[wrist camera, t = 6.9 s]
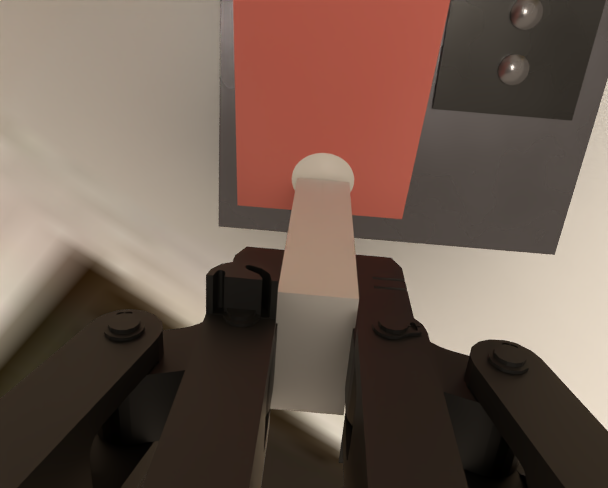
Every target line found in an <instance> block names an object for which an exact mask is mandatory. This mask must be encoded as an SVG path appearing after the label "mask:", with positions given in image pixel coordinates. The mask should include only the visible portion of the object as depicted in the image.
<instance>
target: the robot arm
mask: <svg viewBox="0 0 608 488" xmlns="http://www.w3.org/2000/svg"><path fill="white" fill-rule="evenodd" d="M344 407H345V409H346V413H345V420H344V427H343V435H342V442H341V449H340V457H339V463H343V474H344V488H608V431H607V430H606V429H605V428H604V427H603V426H602V424H601V423H600V422H599V421H598V420H597V419H596V418H595V417H594V416H593V415H592V414H591V412H590V411H589V410H588V409H587V408H586V407H585V406H584V405H583V404H582V403H581V402H580V400H579V399H578V398H577V397H576V396H575V395H574V394H573V393H572V392H571V391H570V390H569V388H568V387H567V386H566V385H565V384H564V383H563V382H562V381H561V380H560V379H559V378H558V376H557V375H556V374H555V373H554V372H553V371H552V370H551V369H550V368H549V367H548V366H547V364H546V363H545V362H544V361H543V360H542V359H541V358H540V357H538V356H537V355H536V354H535V353H533V352H532V351H531V350H529V349H527V348H525V347H523V346H521V345H519V344H516V343H513V342H510V341H505V340H485V341H480V342H478V343H477V344H475V345H474V346H472V348H471V352H470V356H467V355H464V354H460V353H457V352H453V351H450V350H447V349H444V348H442V347H439V346H437V345H435V344H433V343H431V342H430V340H429V336H428V333H427V331H426V329H425V328H424V326H423V325H422V324H421V323H420V322H418V321H417V320H416V319H414V317H413V313H412V309H411V305H410V300H409V296H408V292H407V288H406V284H405V282H404V275H403V271H402V268H401V267H400V266H399V265H398V264H397V263H396V262H395V261H394V260H393V259H392V258H387V257H376V256H364V255H355V244H354V232H353V220H352V209H351V197H350V185H349V182H341V181H330V180H318V179H307V178H297V182H296V188H295V194H294V200H293V205H292V211H291V217H290V223H289V228H288V234H287V240H286V246H285V250H278V249H266V248H255V247H246V248H245V249H243V250H242V251H240V252H239V253H238V254H236V255H235V257H234V260H233V262H230V263H225V264H221V265H219V266H217V267H214V268H212V269H211V270H210V271H209V272H208V274H207V275H206V315H205V318H204V321H203V322H202V323H200V324H197V325H194V326H191V327H185V328H180V329H171V330H163V328H162V322H161V321H160V320H159V319H158V318H157V317H156V316H155V315H153V314H151V313H148V312H146V311H140V310H132V309H125V310H118V311H114V312H111V313H107V314H104V315H102V316H100V317H98V318H97V319H95V320H93V321H92V322H91V323H89V324H88V325H87V326H86V327H85V328H84V329H82V330H81V331H80V332H79V333H78V334H76V335H75V336H74V337H73V338H72V339H70V340H69V341H68V342H67V343H66V344H65V345H63V346H62V347H61V348H60V349H59V350H57V351H56V352H55V353H54V354H53V355H52V356H50V357H49V358H48V359H47V360H46V361H44V362H43V363H42V364H41V365H40V366H38V367H37V368H36V369H35V370H34V371H33V372H31V373H30V374H29V375H28V376H27V377H25V378H24V379H23V380H22V381H21V382H20V383H18V384H17V385H16V386H15V387H14V388H12V389H11V390H10V391H9V392H8V393H6V394H5V395H4V396H3V397H2V398H1V399H0V488H137V487H138V485H139V484H140V482H141V481H142V480H143V478H144V477H145V475H146V474H147V475H146V478H145V480H144V483H143V486H142V488H261V483H262V476H263V468H264V461H265V454H266V446H267V439H268V432H269V421H270V409H281V410H292V411H303V412H314V413H326V414H337V415H344Z"/></svg>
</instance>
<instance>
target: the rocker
mask: <svg viewBox="0 0 608 488" xmlns="http://www.w3.org/2000/svg"><path fill="white" fill-rule="evenodd" d="M449 4H450V0H233V19H234V65H235V111H236V156H237V202H238V205H239V206H251V207H263V208H275V209H287V210H292V205H293V200H294V194H295V188H296V182H297V178H307V179H318V180H330V181H341V182H349V185H350V197H351V209H352V215H358V216H370V217H381V218H393V219H402V217H403V212H404V208H405V203H406V199H407V194H408V190H409V185H410V181H411V176H412V172H413V167H414V163H415V158H416V154H417V149H418V145H419V140H420V135H421V131H422V126H423V122H424V117H425V113H426V108H427V104H428V99H429V95H430V90H431V86H432V81H433V77H434V72H435V68H436V63H437V59H438V54H439V50H440V45H441V40H442V36H443V31H444V27H445V22H446V18H447V13H448V9H449Z"/></svg>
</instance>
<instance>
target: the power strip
mask: <svg viewBox="0 0 608 488" xmlns="http://www.w3.org/2000/svg"><path fill="white" fill-rule="evenodd" d="M607 79H608V0H450V4H449V9H448V13H447V18H446V22H445V27H444V31H443V36H442V40H441V45H440V50H439V54H438V59H437V63H436V68H435V72H434V77H433V81H432V86H431V90H430V95H429V99H428V104H427V108H426V113H425V117H424V122H423V126H422V131H421V135H420V140H419V145H418V149H417V154H416V158H415V163H414V167H413V172H412V176H411V181H410V185H409V190H408V194H407V199H406V203H405V208H404V212H403V217H402V219H393V218H381V217H370V216H358V215H352V220H353V232H354V238H364V239H376V240H387V241H399V242H411V243H423V244H435V245H446V246H458V247H470V248H482V249H494V250H505V251H517V252H529V253H541V254H553V255H555V251H556V248H557V245H558V241H559V238H560V235H561V231H562V228H563V225H564V221H565V218H566V215H567V212H568V208H569V205H570V202H571V198H572V195H573V192H574V188H575V185H576V182H577V178H578V175H579V172H580V168H581V165H582V162H583V158H584V155H585V152H586V148H587V145H588V142H589V138H590V135H591V132H592V128H593V125H594V122H595V118H596V115H597V112H598V109H599V105H600V102H601V99H602V95H603V92H604V89H605V85H606V82H607ZM291 211H292V210H287V209H275V208H263V207H251V206H239V205H238V202H237V156H236V111H235V65H234V19H233V0H221V4H220V135H219V226H222V227H234V228H246V229H257V230H269V231H281V232H288V228H289V223H290V217H291Z"/></svg>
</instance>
